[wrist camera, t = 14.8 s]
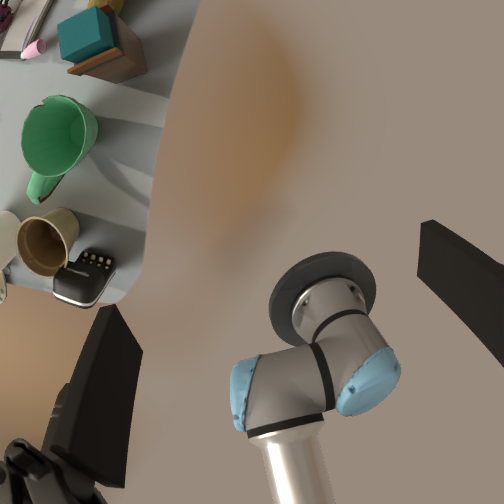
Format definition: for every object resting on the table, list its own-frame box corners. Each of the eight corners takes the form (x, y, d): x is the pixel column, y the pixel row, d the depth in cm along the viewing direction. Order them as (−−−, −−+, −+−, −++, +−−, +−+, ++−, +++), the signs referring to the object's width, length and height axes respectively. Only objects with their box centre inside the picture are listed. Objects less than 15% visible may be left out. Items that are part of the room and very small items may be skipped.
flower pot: (33, 206, 36) (6, 226, 29) (77, 190, 37) (53, 208, 30) (52, 256, 41) (31, 283, 33) (96, 244, 42) (78, 272, 34)
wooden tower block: (147, 71, 32) (123, 55, 21) (115, 84, 32) (81, 73, 21) (140, 38, 29) (115, 12, 18) (108, 51, 29) (74, 31, 18)
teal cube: (114, 48, 20) (101, 39, 16) (79, 64, 20) (61, 59, 16) (109, 17, 18) (95, 5, 14) (74, 33, 18) (56, 25, 14)
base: (125, 56, 21) (116, 50, 18) (80, 76, 21) (67, 73, 18) (116, 10, 18) (107, 1, 16) (72, 31, 18) (60, 24, 16)
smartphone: (61, -22, 19) (22, 60, 25) (64, -19, 20) (26, 61, 26) (31, -19, 17) (-5, 59, 23) (34, -17, 18) (-1, 59, 24)
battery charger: (119, 253, 42) (91, 289, 32) (117, 274, 44) (91, 313, 33) (82, 242, 41) (47, 274, 31) (80, 263, 42) (48, 297, 32)
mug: (75, 88, 30) (41, 83, 22) (126, 114, 34) (101, 114, 25) (37, 174, 35) (2, 191, 26) (83, 201, 38) (54, 225, 29)
